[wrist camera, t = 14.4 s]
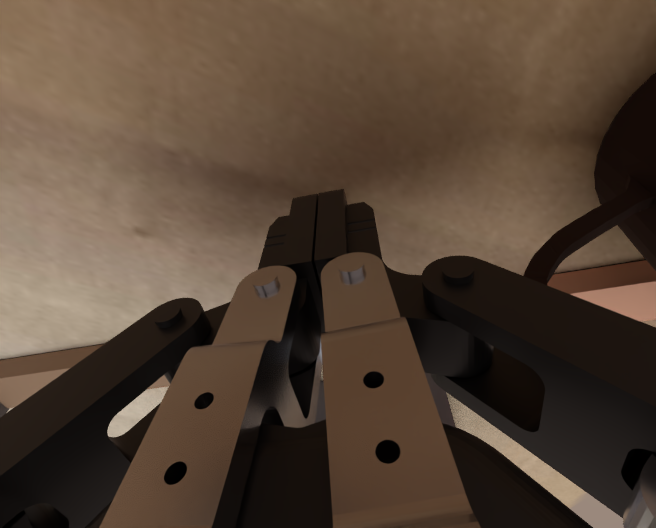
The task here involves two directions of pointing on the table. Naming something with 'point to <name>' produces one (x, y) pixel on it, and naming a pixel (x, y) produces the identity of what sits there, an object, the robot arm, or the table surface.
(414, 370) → the robot arm
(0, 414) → the walnut segment
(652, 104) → the coffee mug
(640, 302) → the terracotta segment
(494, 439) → the table surface
